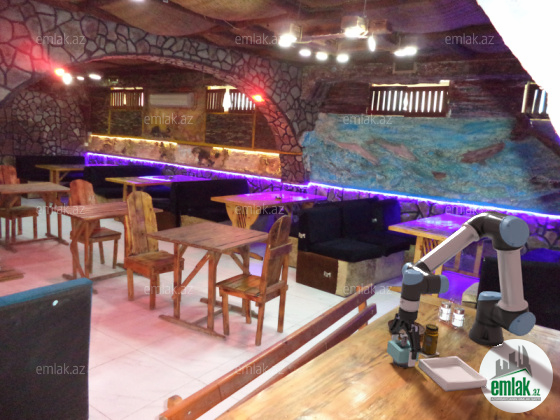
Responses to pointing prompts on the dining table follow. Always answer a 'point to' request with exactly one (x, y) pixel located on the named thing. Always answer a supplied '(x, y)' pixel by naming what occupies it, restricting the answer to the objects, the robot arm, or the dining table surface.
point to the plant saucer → (421, 330)
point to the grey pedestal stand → (403, 346)
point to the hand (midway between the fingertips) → (402, 357)
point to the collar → (399, 351)
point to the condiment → (430, 341)
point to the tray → (452, 373)
